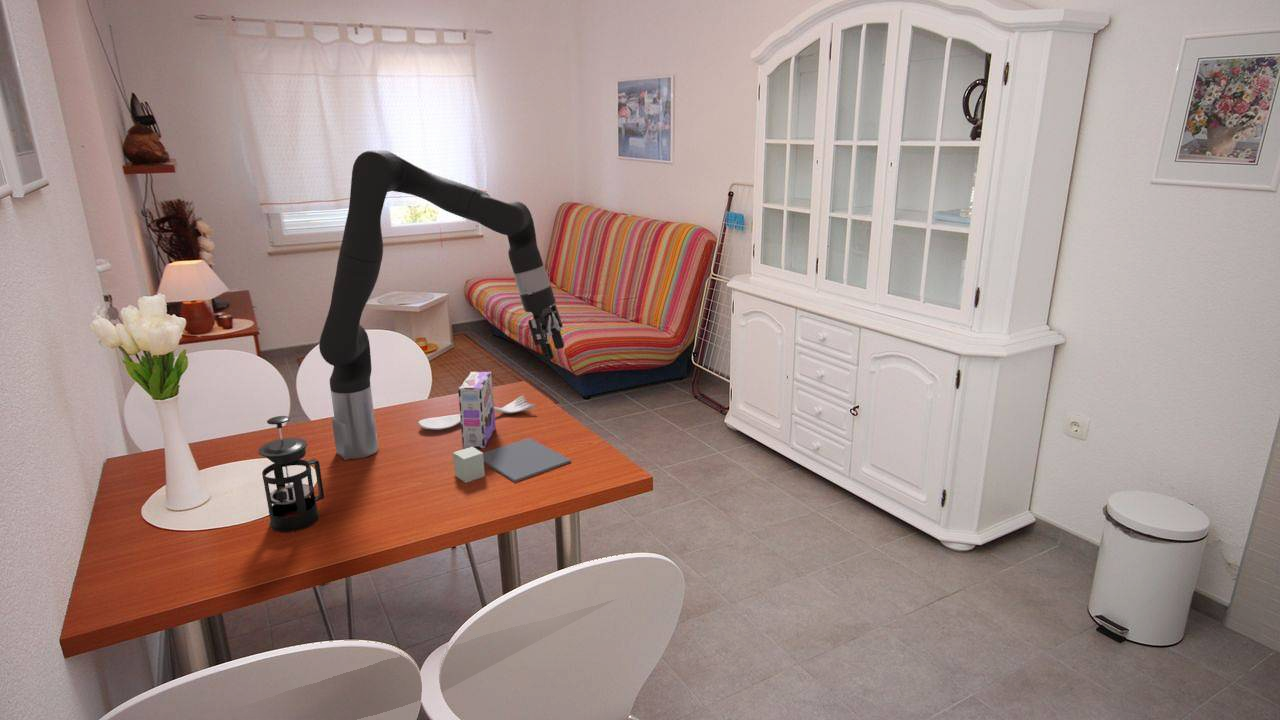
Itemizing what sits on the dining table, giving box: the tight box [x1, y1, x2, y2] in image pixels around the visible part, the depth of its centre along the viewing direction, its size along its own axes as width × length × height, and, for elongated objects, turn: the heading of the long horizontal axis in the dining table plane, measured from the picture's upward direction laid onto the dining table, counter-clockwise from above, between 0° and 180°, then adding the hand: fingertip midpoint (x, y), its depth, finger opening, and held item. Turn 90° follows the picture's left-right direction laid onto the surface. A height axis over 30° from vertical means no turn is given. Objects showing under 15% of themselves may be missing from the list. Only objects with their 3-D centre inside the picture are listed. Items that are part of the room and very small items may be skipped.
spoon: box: [417, 395, 536, 431], centre depth 206 cm, size 9×32×4 cm, turn 121°
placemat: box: [482, 437, 572, 483], centre depth 181 cm, size 16×18×1 cm
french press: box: [257, 415, 325, 533], centre depth 151 cm, size 12×9×23 cm
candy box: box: [458, 371, 496, 449], centre depth 192 cm, size 14×6×16 cm, turn 179°
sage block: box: [452, 447, 486, 484], centre depth 172 cm, size 5×5×6 cm
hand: (555, 353), depth 174 cm, fingers open, 8 cm apart
